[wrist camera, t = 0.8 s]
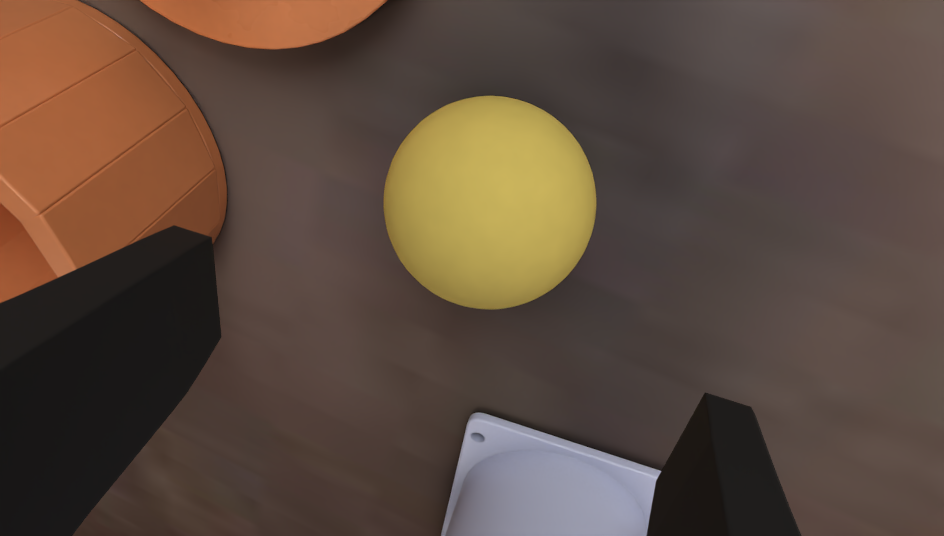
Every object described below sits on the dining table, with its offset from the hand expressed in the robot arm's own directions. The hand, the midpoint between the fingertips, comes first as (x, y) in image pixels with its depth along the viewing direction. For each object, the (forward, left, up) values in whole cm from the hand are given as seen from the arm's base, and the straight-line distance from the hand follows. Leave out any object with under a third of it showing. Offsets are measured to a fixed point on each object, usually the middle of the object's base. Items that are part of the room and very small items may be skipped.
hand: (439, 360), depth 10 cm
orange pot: (-6, +15, -10) cm, 19 cm away
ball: (-2, +1, -8) cm, 8 cm away
